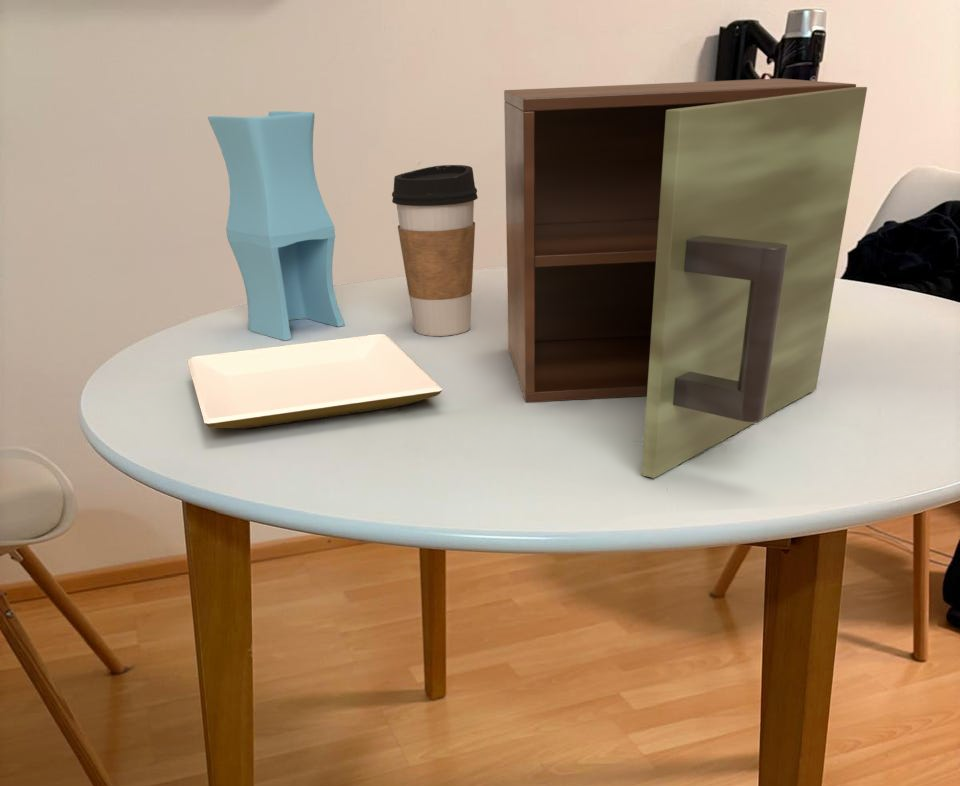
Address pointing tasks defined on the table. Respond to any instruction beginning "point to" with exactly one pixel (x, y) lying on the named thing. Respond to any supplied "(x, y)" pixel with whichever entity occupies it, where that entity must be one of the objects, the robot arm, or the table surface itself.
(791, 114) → the door
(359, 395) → the plate
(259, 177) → the vase
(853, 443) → the table surface
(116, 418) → the table surface
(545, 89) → the cupboard
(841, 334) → the table surface
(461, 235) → the coffee cup
